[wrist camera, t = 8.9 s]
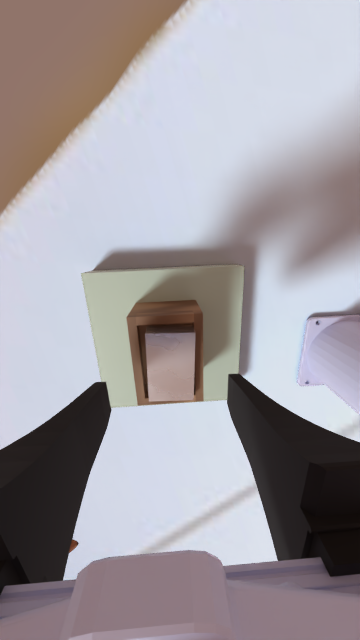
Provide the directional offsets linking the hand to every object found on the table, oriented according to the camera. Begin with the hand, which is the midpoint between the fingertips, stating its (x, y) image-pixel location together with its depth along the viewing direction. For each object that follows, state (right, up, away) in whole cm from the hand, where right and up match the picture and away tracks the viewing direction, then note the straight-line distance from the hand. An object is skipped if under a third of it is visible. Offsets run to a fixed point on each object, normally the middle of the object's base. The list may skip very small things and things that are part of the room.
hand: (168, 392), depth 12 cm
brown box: (0, +2, +6) cm, 7 cm away
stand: (-1, +3, +9) cm, 9 cm away
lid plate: (0, +1, +3) cm, 4 cm away
